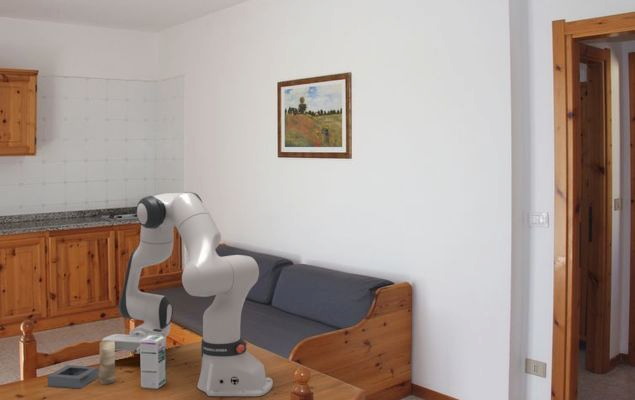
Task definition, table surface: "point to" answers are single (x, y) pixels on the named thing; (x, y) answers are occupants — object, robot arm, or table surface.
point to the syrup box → (153, 361)
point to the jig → (73, 376)
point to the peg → (107, 362)
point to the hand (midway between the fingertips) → (122, 350)
